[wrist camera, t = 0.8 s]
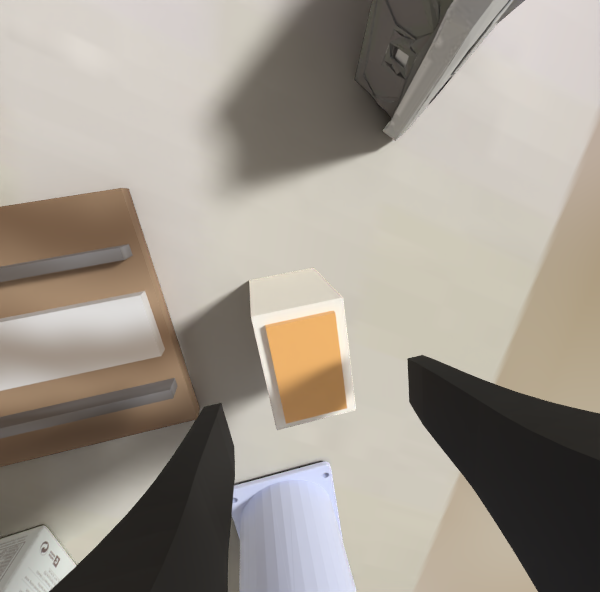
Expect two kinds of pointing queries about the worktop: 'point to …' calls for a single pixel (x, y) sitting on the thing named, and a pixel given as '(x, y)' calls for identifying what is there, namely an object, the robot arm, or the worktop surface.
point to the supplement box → (32, 561)
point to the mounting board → (83, 329)
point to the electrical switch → (420, 50)
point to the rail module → (302, 346)
